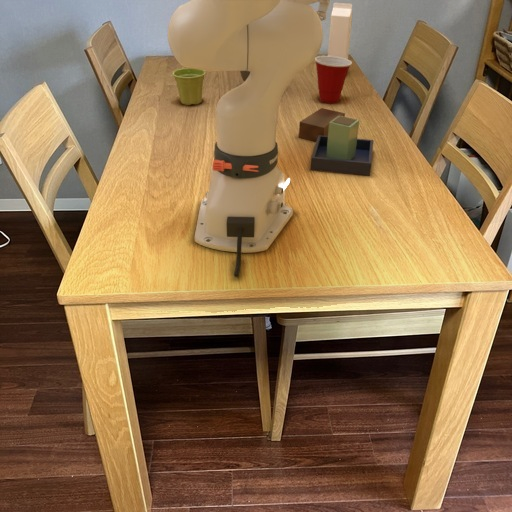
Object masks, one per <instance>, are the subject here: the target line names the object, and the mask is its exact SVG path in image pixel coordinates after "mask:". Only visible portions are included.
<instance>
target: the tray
mask: <svg viewBox="0 0 512 512" xmlns="http://www.w3.org/2000/svg"><path fill="white" fill-rule="evenodd" d="M327 142H328V136H322V135H318V138H317V141H316V142H315V144H314V148H313V151H312V154H311V157H310V169H309V170H310V171H316V172H325V173H334V174H335V173H337V174H345V175H355V176H356V175H357V176H366V177H370V175H371V168H372V160H373V149H374V139H366V138H357V144H356V153H355V157H353V158H352V159H351V160H343V159H332V158H326V154H327Z"/></svg>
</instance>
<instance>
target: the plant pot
mask: <svg viewBox="0 0 512 512" xmlns="http://www.w3.org/2000/svg"><path fill="white" fill-rule="evenodd" d="M205 75H206V71H204V70H198V69H193V68H188V67H183V68H179V69H176V70H173V71H172V76H173V77H174V81H175V82H176V86H177V92H178V96H179V100H180V101H179V102H180V103H181V104H182V105H185V106H191V105H199V104H201V103H202V98H203V87H204V86H203V85H204V80H205Z"/></svg>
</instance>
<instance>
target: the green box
mask: <svg viewBox="0 0 512 512" xmlns="http://www.w3.org/2000/svg"><path fill="white" fill-rule="evenodd" d="M359 126H360V119H357V118H353V117H348V116H345V117H344V116H337V117H336V118H335V119H333V120H332V121H331V122H329V131H328V142H327V154H326V158H332V159H343V160H351V159H352V158H353V157H355V153H356V144H357V139H358V136H359V135H358V134H359V128H360V127H359Z"/></svg>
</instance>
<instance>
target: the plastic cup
mask: <svg viewBox="0 0 512 512" xmlns="http://www.w3.org/2000/svg"><path fill="white" fill-rule="evenodd" d="M314 61H315V67H316V74H317V77H316V78H317V90H318V98H319V101H320V102H321V103H326V104H336V103H339V101H340V99H341V95H342V92H343V88H344V84H345V81H346V78H347V74H348V71H349V69H350V68H351V66H352V64H353V61H352V60H350V59H349V58H348V59H345V58H341V57H336V56H328V55H317V56H316V58H315V59H314Z"/></svg>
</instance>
